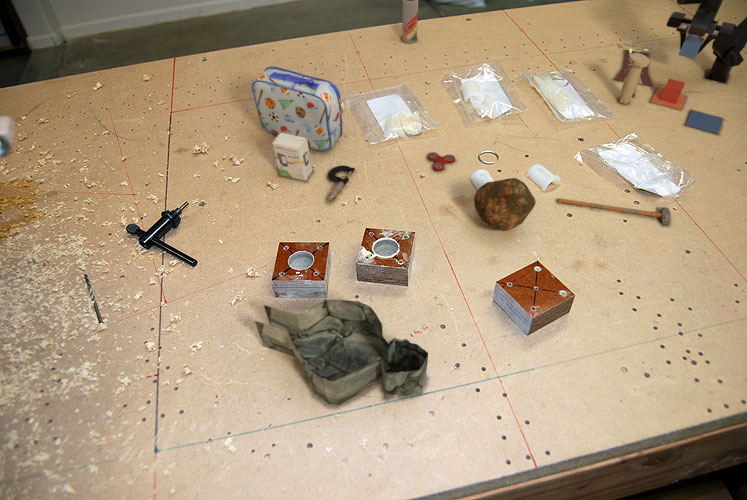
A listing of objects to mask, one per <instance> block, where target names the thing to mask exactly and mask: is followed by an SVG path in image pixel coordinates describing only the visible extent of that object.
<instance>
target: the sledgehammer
mask: <svg viewBox="0 0 747 500" xmlns="http://www.w3.org/2000/svg"><path fill="white" fill-rule="evenodd" d="M558 202H559V203H563V204H569V205H576V206H583V207H590V208H596V209H603V210H610V211H616V212H623V213H627V214H628V213H629V214H636V215H643V216H649V217H653V218H660V223H661V224H662V225H664V226H667V225H670V223H671V222H672V221H671V216H672V215H671V214H672V213H671V211H670V208H669V207H666V206H663V207H661V208H660V210H659V212H657V211H648V210H641V209H635V208H629V207H628V208H627V207H621V206H613V205H608V204H607V205H605V204H600V203H593V202H587V201H578V200H572V199H565V198H558Z"/></svg>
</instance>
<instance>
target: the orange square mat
mask: <svg viewBox="0 0 747 500" xmlns="http://www.w3.org/2000/svg"><path fill="white" fill-rule="evenodd" d="M663 90H664V88H660V87H656V90H655V92H654V94H653V96H652V98H651V100H650V103H652V104H657V105H660V106H664V107H668V108H673V109H675V110H682V107H683V105H684V102H685V100H686V98H687V94H684V93H681V94H680V96H679V98H678V100H677V102H676V104H674V103H670V102H667V101H663V100H659V99H660V97H661V95H662V92H663Z"/></svg>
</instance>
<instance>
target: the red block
mask: <svg viewBox="0 0 747 500" xmlns="http://www.w3.org/2000/svg"><path fill="white" fill-rule="evenodd" d="M685 85H686V82H685V81H680V80H676V79H673V78H667V81H666V84H665V86H664V88H663V89H664V90H663V92H662V95H661V97H660V99H659V100H663V101H667V102H670V103H674V104H676V102H677V100H678V98H679V96H680V94H682V92H683V89H684V87H685Z"/></svg>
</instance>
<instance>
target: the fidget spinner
mask: <svg viewBox="0 0 747 500" xmlns="http://www.w3.org/2000/svg"><path fill="white" fill-rule="evenodd" d="M427 159H428V161H431V162H434V163H433V164H432V169H433V170H434V171H436V172H441V171H443V170H444V169H445V164H453V163H455V162H456V157H455V155H453V154H446V155H443V156H440V155H439V153H437V152H434V151H433V152H429V153H428V154H427Z"/></svg>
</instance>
